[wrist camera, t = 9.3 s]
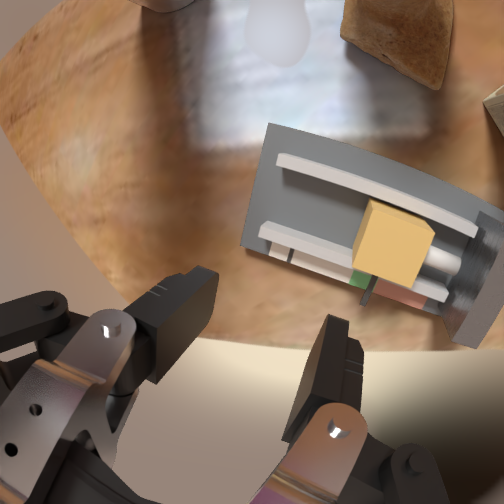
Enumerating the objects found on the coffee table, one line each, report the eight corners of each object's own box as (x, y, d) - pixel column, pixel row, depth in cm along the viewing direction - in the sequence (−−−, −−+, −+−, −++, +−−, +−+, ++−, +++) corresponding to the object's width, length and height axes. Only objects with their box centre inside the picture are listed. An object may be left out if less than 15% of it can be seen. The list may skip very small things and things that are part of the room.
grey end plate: (437, 305, 25) (451, 341, 19) (479, 210, 20) (508, 228, 15) (460, 313, 24) (476, 349, 19) (502, 222, 20) (532, 242, 15)
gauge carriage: (337, 284, 27) (333, 310, 23) (369, 197, 24) (373, 208, 19) (420, 313, 25) (428, 342, 21) (458, 233, 22) (477, 251, 17)
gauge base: (245, 240, 31) (232, 252, 28) (272, 123, 26) (261, 120, 23) (455, 315, 26) (463, 333, 23) (503, 210, 21) (518, 219, 18)
